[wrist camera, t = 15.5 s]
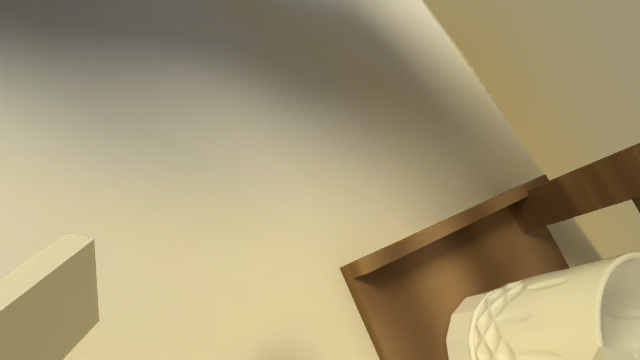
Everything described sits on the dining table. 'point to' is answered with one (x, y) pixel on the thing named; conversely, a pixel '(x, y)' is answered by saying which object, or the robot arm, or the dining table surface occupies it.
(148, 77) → the dining table surface
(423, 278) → the brown wooden stand
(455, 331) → the white cup
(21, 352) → the robot arm
